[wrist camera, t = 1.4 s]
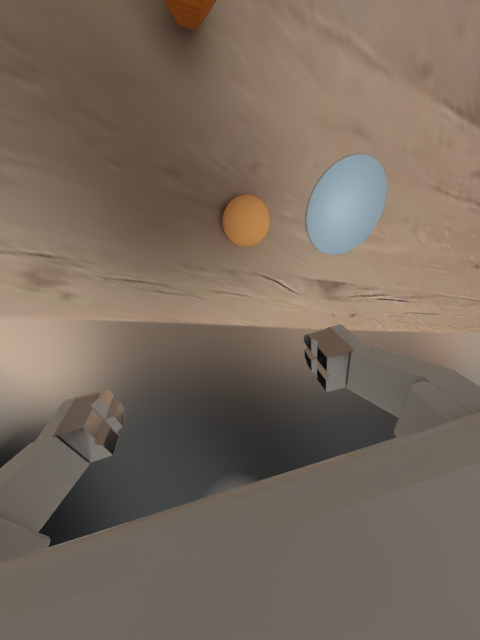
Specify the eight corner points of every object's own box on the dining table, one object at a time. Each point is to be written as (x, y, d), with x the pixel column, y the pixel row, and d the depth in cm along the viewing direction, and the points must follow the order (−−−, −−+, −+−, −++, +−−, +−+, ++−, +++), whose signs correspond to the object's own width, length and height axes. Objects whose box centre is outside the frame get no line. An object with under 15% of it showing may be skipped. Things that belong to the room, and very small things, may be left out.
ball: (217, 195, 24) (225, 196, 19) (261, 192, 24) (279, 193, 20) (221, 243, 27) (229, 254, 22) (260, 239, 27) (276, 249, 23)
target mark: (313, 155, 24) (314, 155, 24) (399, 153, 26) (400, 152, 26) (300, 258, 30) (301, 258, 30) (370, 249, 32) (371, 250, 32)
